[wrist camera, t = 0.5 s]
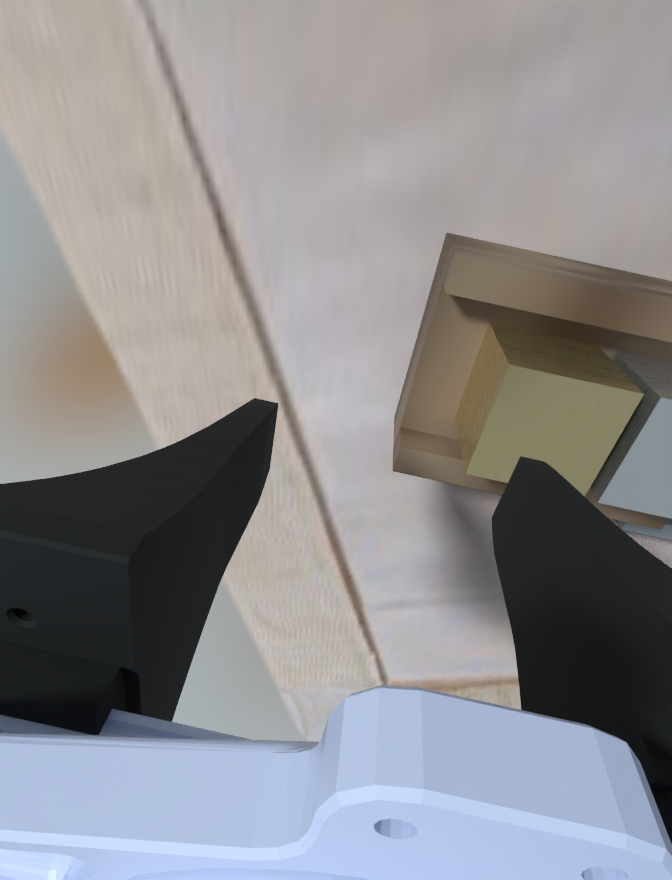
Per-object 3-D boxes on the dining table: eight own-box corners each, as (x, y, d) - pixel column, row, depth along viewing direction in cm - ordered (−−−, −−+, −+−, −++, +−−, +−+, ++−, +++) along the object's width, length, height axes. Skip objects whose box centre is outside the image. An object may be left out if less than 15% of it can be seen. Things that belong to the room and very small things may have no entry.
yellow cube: (597, 345, 18) (644, 394, 14) (552, 438, 20) (583, 499, 16) (489, 321, 18) (509, 364, 14) (454, 416, 20) (465, 473, 16)
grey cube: (720, 372, 18) (796, 426, 14) (661, 462, 20) (715, 528, 16) (611, 348, 18) (661, 397, 14) (564, 440, 20) (597, 502, 16)
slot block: (724, 292, 19) (805, 330, 15) (619, 466, 23) (661, 529, 20) (446, 232, 19) (457, 255, 15) (394, 417, 24) (392, 470, 20)
